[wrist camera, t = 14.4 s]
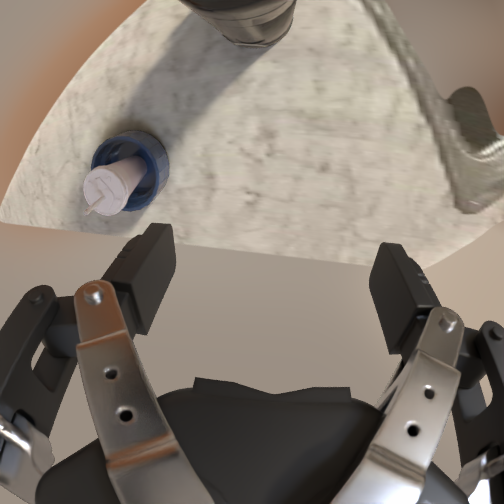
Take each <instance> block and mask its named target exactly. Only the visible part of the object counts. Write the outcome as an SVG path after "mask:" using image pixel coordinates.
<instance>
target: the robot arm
mask: <svg viewBox="0 0 504 504" xmlns="http://www.w3.org/2000/svg"><path fill="white" fill-rule="evenodd" d="M179 1H180V2H181V3H182V4H184V5H185V6H187V7H188V8H189V9H191V10H192V11H194V12H195V13H196V14H198V15H199V16H201V17H202V18H203V19H205V20H206V21H207V22H208V23H210V24H211V25H212V26H213V27H215V28H216V29H217V30H218V31H220V32H221V33H222V34H223V36H224V37H226V38H227V39H228V40H229V41H231V42H232V43H233V44H234V45H239V46H242V47H246V48H262V47H267V46H270V45H272V44H274V43H276V42H278V41H279V40H281V39H282V38H283V37H284V36H285V35H286V34H287V33H288V31H289V29H290V27H291V25H292V21H293V13H294V9H295V5H296V1H297V0H179ZM175 267H176V254H175V246H174V237H173V229H172V226H171V224H163V223H151V224H150V225H149V227H148V228H147V229H146V231H145V232H144V233H143V235H137V236H136V237H134V238H133V239H131V240H130V241H129V242H128V243H127V244H126V245H125V246H124V248H123V249H122V251H121V252H120V253H119V254H118V256H117V258H115V260H114V261H113V263H112V264H111V266H110V267H109V268H108V269H107V271H106V272H105V274H104V275H103V277H102V278H101V279H100V280H93V281H90V282H87V283H86V284H84V285H82V286H81V287H80V288H79V289H78V290H77V291H76V293H75V295H74V296H66V297H56V295H55V292H54V290H53V289H52V287H50V286H47V285H40V286H37V287H34V288H32V289H31V290H30V291H28V292H27V293H26V294H25V295H24V296H23V298H22V299H21V300H20V302H19V303H18V305H17V306H16V308H15V309H14V310H13V312H12V314H11V315H10V317H9V318H8V319H7V321H6V322H5V324H4V326H3V327H2V329H1V330H0V485H1V486H3V487H4V488H5V489H7V490H8V491H10V492H11V493H13V494H14V495H16V496H17V497H19V498H20V499H22V500H24V501H25V502H27V503H29V504H504V328H503V327H502V326H501V325H499V324H498V323H496V322H493V321H486V322H484V324H483V325H482V327H481V328H480V329H479V331H478V330H474V329H471V328H466V327H464V323H463V321H462V319H461V318H460V316H459V315H458V314H456V313H455V312H454V311H453V310H451V309H449V308H446V307H442V306H441V304H440V302H439V300H438V298H437V296H436V294H435V292H434V291H433V289H432V287H431V285H430V284H429V282H428V280H427V278H426V277H425V274H424V273H423V271H422V269H421V267H420V266H419V265H418V264H417V263H416V262H415V261H414V260H413V259H412V258H409V257H408V255H407V254H406V252H405V250H404V248H403V247H402V245H401V244H395V243H386V242H383V243H381V245H380V247H379V250H378V253H377V256H376V259H375V262H374V265H373V268H372V271H371V274H370V278H369V288H370V292H371V295H372V298H373V301H374V304H375V307H376V310H377V313H378V317H379V320H380V323H381V327H382V330H383V334H384V337H385V340H386V344H387V347H388V351H389V354H401V356H402V359H401V361H400V362H399V364H398V366H397V368H396V369H395V371H394V373H393V375H392V377H391V379H390V381H389V383H388V384H387V386H386V388H385V390H384V392H383V393H382V395H381V397H380V398H379V400H378V401H377V403H376V404H375V406H372V405H370V404H368V403H366V402H363V401H361V400H358V399H355V398H351V393H350V387H312V388H307V389H302V390H297V391H292V392H287V393H281V394H269V393H266V392H263V391H259V390H256V389H253V388H250V387H247V386H244V385H240V384H238V383H235V382H228V381H220V380H211V379H204V378H197V377H195V381H194V385H193V388H185V389H179V390H176V391H172V392H169V393H166V394H164V395H162V396H160V397H158V398H157V397H156V395H155V392H154V391H153V388H152V386H151V384H150V382H149V379H148V377H147V375H146V372H145V370H144V368H143V365H142V363H141V361H140V358H139V356H138V353H137V351H136V348H135V345H134V343H133V339H134V336H135V334H142V335H147V334H148V331H149V329H150V327H151V324H152V322H153V319H154V317H155V314H156V313H157V310H158V308H159V306H160V303H161V301H162V299H163V297H164V294H165V292H166V290H167V288H168V286H169V283H170V281H171V279H172V277H173V275H174V272H175ZM40 342H42V343H43V345H44V346H45V348H44V349H43V352H42V353H41V355H40V357H39V359H38V361H37V363H36V365H35V367H34V369H33V371H32V368H31V361H32V357H33V355H34V353H35V351H36V350H37V348H38V346H39V344H40ZM77 362H78V364H79V369H80V373H81V377H82V382H83V386H84V390H85V394H86V398H87V402H88V405H89V409H90V412H91V416H92V419H93V422H94V425H95V428H96V432H97V435H98V438H97V439H96V440H94V441H93V442H91V443H90V444H88V445H86V446H85V447H83V448H82V449H80V450H79V451H77V452H75V453H74V454H72V455H71V456H69V457H67V458H66V459H64V460H63V461H61V462H59V463H58V464H56V465H54V466H53V467H52V465H53V463H54V461H55V458H54V455H53V454H52V447H51V444H50V441H49V436H50V432H51V430H52V427H53V424H54V421H55V418H56V415H57V412H58V410H59V407H60V404H61V402H62V399H63V396H64V394H65V392H66V389H67V387H68V384H69V382H70V379H71V377H72V374H73V372H74V369H75V367H76V365H77ZM486 374H487V376H488V379H489V382H490V385H491V388H492V392H493V397H492V401H491V403H490V405H489V406H488V407H486V403H485V400H484V396H483V393H482V390H481V386H480V383H479V381H480V380H481V379H482V378H483V377H484V376H485V375H486ZM451 410H452V415H453V420H454V425H455V430H456V435H457V441H458V447H459V453H460V460H461V467H462V469H461V472H460V474H459V478H458V479H457V480H455V482H453V481H452V480H451V479H450V478H449V477H448V476H447V475H446V474H444V472H443V471H441V469H439V468H438V467H437V466H436V465H435V464H434V463H433V462H432V461H431V460H432V457H433V455H434V453H435V451H436V448H437V446H438V443H439V441H440V438H441V436H442V433H443V431H444V428H445V425H446V423H447V420H448V417H449V414H450V411H451Z"/></svg>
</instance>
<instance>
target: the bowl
mask: <svg viewBox="0 0 504 504" xmlns="http://www.w3.org/2000/svg"><path fill="white" fill-rule="evenodd" d="M131 156H139V157H141V158H143V159H144V161H145V162H146V165H147V172H146V174H145V176H144V177H143V178H142V180H141V181H140V182H139V184H138V185H137V186H136V188H135V189H134V190H133V192H132V193H131V194H130V196H129V197H128V200H127V204H126V205H125V207H124V208H123V209H122V210H123V211H130V212H131V211H136V210H140V209H142V208H144V207H145V206H147V205H149V204H150V203H151V201H152V200H153V199H154V198H155V197H156V196H157V195H158V194H159V193H160V191H161V190H162V189H163V188H164V186H165V185H166V182H167V179H168V176H169V162H168V158H167V154H166V152H165V150H164V148H163V147H162V145H161V144H160V142H159V141H157V140H156V139H155V138H154V137H153V136H152V135H150V134H147V133H145V132H142V131H133V130H130V131H126V132H123V133H120V134H118V135H116V136H114V137H112V138H109V139H107V140H106V141H105V142H103V143H102V144H101V145H100V146H99V147H98V149H97V150H96V152H95V154H94V156H93V159H92V164H91V171H92V170H93V169H94V168H96V167H98V166H103V165H105V166H107V165H109V164H112V163H115V162H117V161H120V160H123V159H125V158H128V157H131Z"/></svg>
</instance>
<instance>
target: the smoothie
mask: <svg viewBox="0 0 504 504" xmlns="http://www.w3.org/2000/svg"><path fill="white" fill-rule="evenodd" d="M146 172H147V165H146V162H145V161H144V159H143V158H141V157H139V156H131V157H128V158H125V159H123V160H120V161H117V162H115V163H112V164H109V165H107V166H105V165H103V166H98V167H96V168H94V169H93V170H92V171H90V172H89V173H88V174H87V176H86V177H85V180H84V183H83V192H84V196H85V199H86V201H87V203H88V204H89V206H90V207H89V208H87V209H86V210H85V211H84V212H83V213H84V215H85V216H87V215H88V214H89V213H90V212H91V211H92V210H94V211H95V212H97V213H99V214H101V215H105V216H112V215H115V214H117V213H118V212H119V211H120V210H122V209H123V208H124V207H125V205H126V204H127V200H128V197H129V196H130V194H131V193H132V192H133V190H134V189H135V188H136V186H137V185H138V184H139V182H140V181H141V180H142V178H143V177H144V176H145V174H146Z"/></svg>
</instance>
